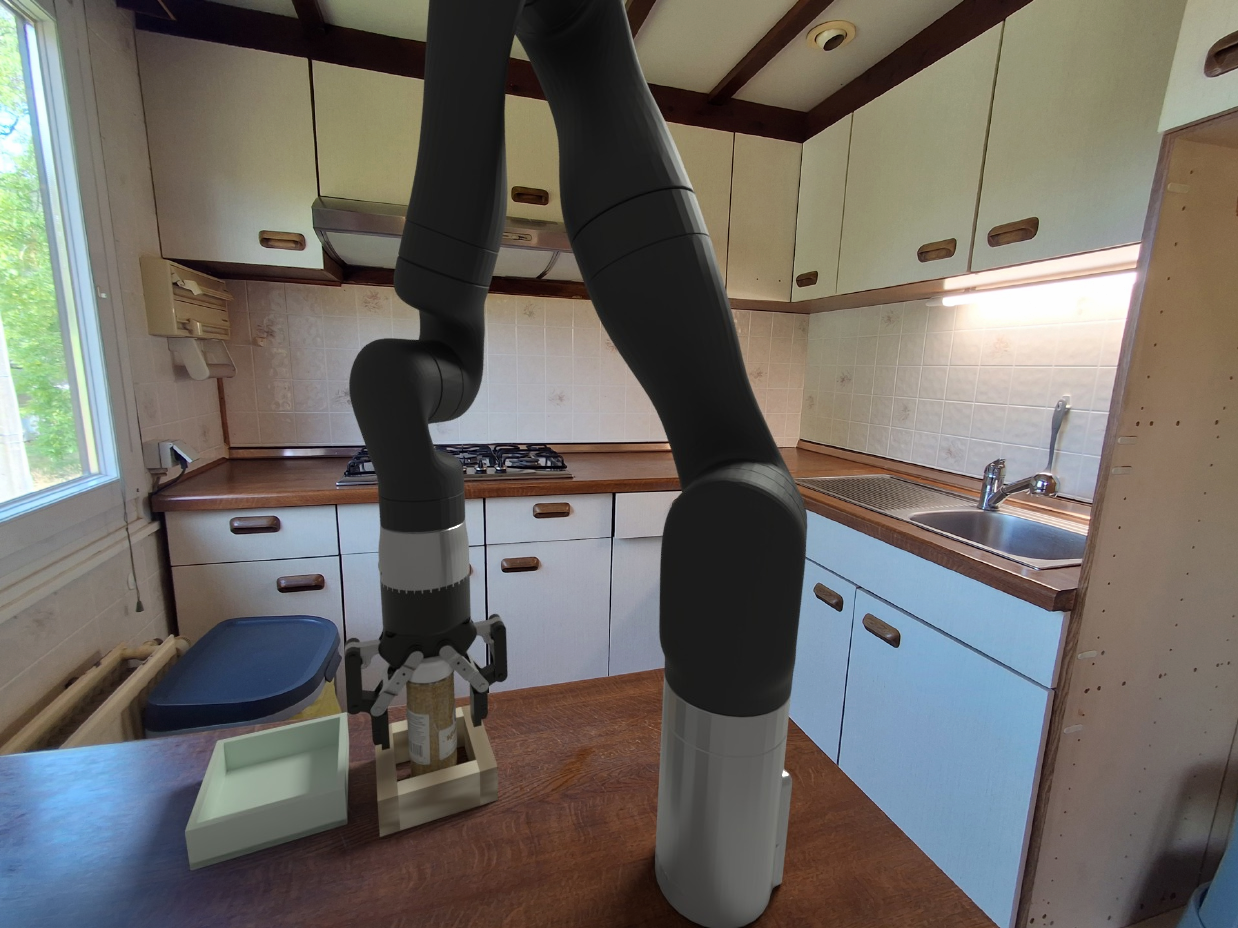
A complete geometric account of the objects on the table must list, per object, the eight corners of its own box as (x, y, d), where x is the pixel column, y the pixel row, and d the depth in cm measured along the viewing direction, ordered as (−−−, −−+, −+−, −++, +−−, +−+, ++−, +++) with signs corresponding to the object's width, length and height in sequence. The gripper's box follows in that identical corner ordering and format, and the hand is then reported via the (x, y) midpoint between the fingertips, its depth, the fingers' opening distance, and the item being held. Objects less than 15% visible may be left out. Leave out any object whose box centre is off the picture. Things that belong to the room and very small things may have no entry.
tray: (349, 742, 57) (346, 711, 56) (347, 823, 47) (344, 787, 47) (221, 773, 53) (217, 740, 52) (190, 870, 43) (184, 831, 42)
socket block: (477, 732, 59) (476, 703, 59) (498, 799, 50) (497, 766, 50) (376, 758, 55) (374, 727, 54) (379, 836, 46) (377, 801, 46)
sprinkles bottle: (465, 784, 52) (461, 655, 50) (415, 804, 50) (409, 669, 47) (451, 754, 56) (446, 633, 53) (404, 772, 53) (397, 645, 51)
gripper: (333, 599, 42) (347, 783, 45) (515, 573, 48) (517, 737, 51) (336, 565, 49) (349, 727, 52) (496, 546, 55) (498, 692, 58)
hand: (432, 732), depth 52 cm, fingers open, 7 cm apart
